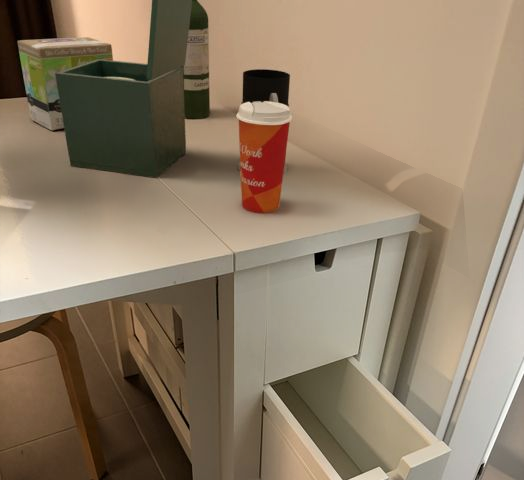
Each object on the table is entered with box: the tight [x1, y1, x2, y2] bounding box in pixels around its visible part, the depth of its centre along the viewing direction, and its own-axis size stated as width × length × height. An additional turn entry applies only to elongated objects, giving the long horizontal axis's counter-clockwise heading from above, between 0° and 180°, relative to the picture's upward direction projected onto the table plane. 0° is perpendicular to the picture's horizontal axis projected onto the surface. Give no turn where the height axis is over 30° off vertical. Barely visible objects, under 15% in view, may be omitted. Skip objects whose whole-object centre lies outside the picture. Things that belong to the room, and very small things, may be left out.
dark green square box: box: [55, 59, 187, 179], centre depth 93 cm, size 16×14×14 cm
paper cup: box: [235, 101, 293, 214], centre depth 79 cm, size 8×8×14 cm
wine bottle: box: [181, 0, 211, 120], centre depth 114 cm, size 8×8×30 cm
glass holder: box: [237, 68, 291, 175], centre depth 90 cm, size 9×14×15 cm, turn 9°
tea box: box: [17, 36, 114, 131], centre depth 111 cm, size 15×10×15 cm, turn 132°
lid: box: [146, 0, 192, 80], centre depth 82 cm, size 16×14×1 cm
